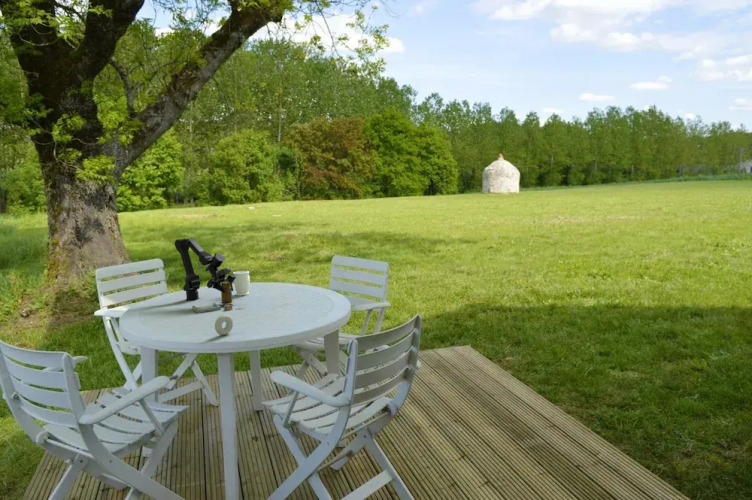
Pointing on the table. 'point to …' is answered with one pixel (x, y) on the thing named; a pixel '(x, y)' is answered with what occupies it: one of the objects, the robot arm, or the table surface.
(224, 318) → the donut
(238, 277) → the jar
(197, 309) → the holder
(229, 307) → the tan block
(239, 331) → the table surface
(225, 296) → the condiment
